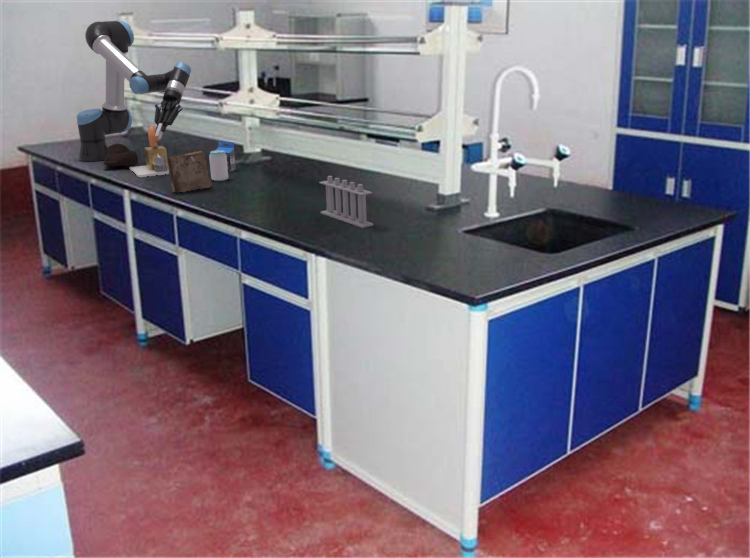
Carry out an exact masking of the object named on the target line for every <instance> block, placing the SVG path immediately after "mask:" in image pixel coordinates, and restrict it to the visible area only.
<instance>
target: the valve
mask: <svg viewBox="0 0 750 558" xmlns="http://www.w3.org/2000/svg"><path fill="white" fill-rule="evenodd" d="M143 149H144V158H145V165H146V167H147V168H148V169H149V170H150V171H151V170H155V172H161V171H168V170H167V169H168V163H167V157H168V154H167V148H166V147H164V146H163V145H158V142H156V146H154V147H150V146H147V147H144V148H143Z"/></svg>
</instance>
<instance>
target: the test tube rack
mask: <svg viewBox="0 0 750 558" xmlns="http://www.w3.org/2000/svg"><path fill="white" fill-rule="evenodd" d="M333 179H334V180H333ZM318 183H319V184H321V185H324V186H325V195H326V196H325V198H326V210H321V211H320V214H321V215H324V216H327V217H330V218H333V219H335V220H339V221H341V222H345V223H348V224H351V225H353V226H357V227H358V228H361V229H364V228H368V227H373V226H374V223H373V222H370V221H368V220H367V201H366V200H367V198H366V197H367V195H371V194H373V192H372V191H370V190H366V189H364V185H363V184H362V183H358V184H357V186H356V183H355V182H354V181H350V182H349V184H348V180H347V179H342V181H341V179H340V177H334V178H333V176H332V175H328V176H327V180H322V181H319V182H318ZM341 191H342V192H341ZM334 193H335V201H334ZM341 193H342V196H341ZM356 195H357V202H356ZM341 197H342V199H341ZM349 198H350V200H349ZM349 202H350V203H349ZM334 203H335V204H334ZM349 205H350V214H349ZM357 210H358V215H357ZM342 211H343V212H342ZM357 216H358V217H357Z"/></svg>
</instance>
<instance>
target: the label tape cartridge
mask: <svg viewBox="0 0 750 558" xmlns="http://www.w3.org/2000/svg"><path fill="white" fill-rule="evenodd" d="M217 143H218V144H217V145H218V147H217V148H216V149H215V150H223V151H224V152H225V154H226V156H227V167H228V172H231V171H232V172H235V171H236V170H237V168H236V156H235V143H234V142H232V141H231V142H229V141H218V142H217ZM234 170H235V171H234ZM232 172H231V173H232Z"/></svg>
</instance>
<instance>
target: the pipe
mask: <svg viewBox="0 0 750 558" xmlns="http://www.w3.org/2000/svg"><path fill="white" fill-rule="evenodd" d="M102 164H103V165H105V166H106V167H108V168H117V167H120V166H121V167H122V166H123V167H135V166H138V164H139V159H138V154H137V152H136V151H135V150H130V149H129V147H127V145H124V144H122V143H115V144H111V145H108V148H107V149H106V158H105V160H103V163H102Z"/></svg>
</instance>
